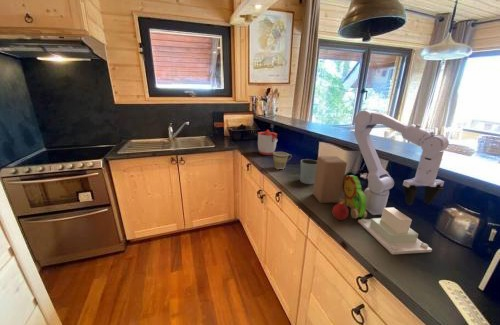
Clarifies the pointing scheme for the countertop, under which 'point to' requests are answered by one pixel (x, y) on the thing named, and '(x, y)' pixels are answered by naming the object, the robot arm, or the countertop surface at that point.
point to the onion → (340, 211)
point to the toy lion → (354, 196)
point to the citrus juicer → (267, 142)
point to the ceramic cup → (280, 159)
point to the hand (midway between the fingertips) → (417, 203)
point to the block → (329, 179)
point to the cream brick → (396, 220)
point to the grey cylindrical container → (308, 171)
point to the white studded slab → (394, 237)
